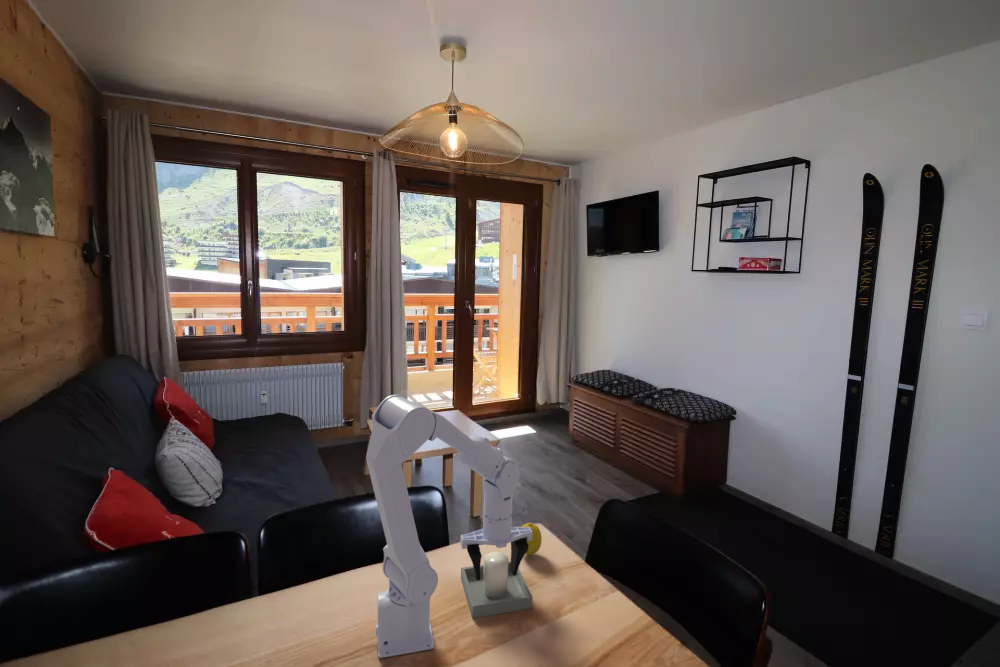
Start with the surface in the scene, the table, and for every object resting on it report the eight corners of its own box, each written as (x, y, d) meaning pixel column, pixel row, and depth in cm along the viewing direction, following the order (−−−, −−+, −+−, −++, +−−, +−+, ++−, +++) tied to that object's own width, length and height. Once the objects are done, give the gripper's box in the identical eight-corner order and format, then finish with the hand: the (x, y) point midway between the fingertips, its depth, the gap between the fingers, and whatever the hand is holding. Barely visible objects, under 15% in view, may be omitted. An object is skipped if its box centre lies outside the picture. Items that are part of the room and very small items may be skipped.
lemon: (543, 561, 112) (545, 528, 111) (520, 563, 111) (521, 530, 109) (536, 547, 117) (538, 516, 116) (514, 549, 116) (515, 517, 115)
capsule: (486, 600, 97) (487, 568, 96) (480, 585, 102) (481, 553, 101) (510, 596, 99) (511, 564, 98) (502, 581, 103) (504, 550, 102)
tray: (472, 618, 93) (472, 606, 93) (460, 578, 105) (461, 567, 104) (531, 608, 96) (532, 597, 96) (514, 571, 108) (514, 560, 107)
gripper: (465, 527, 92) (464, 593, 94) (538, 519, 96) (535, 582, 98) (459, 509, 99) (457, 570, 101) (527, 502, 103) (524, 561, 105)
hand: (495, 575), depth 100 cm, fingers open, 7 cm apart
